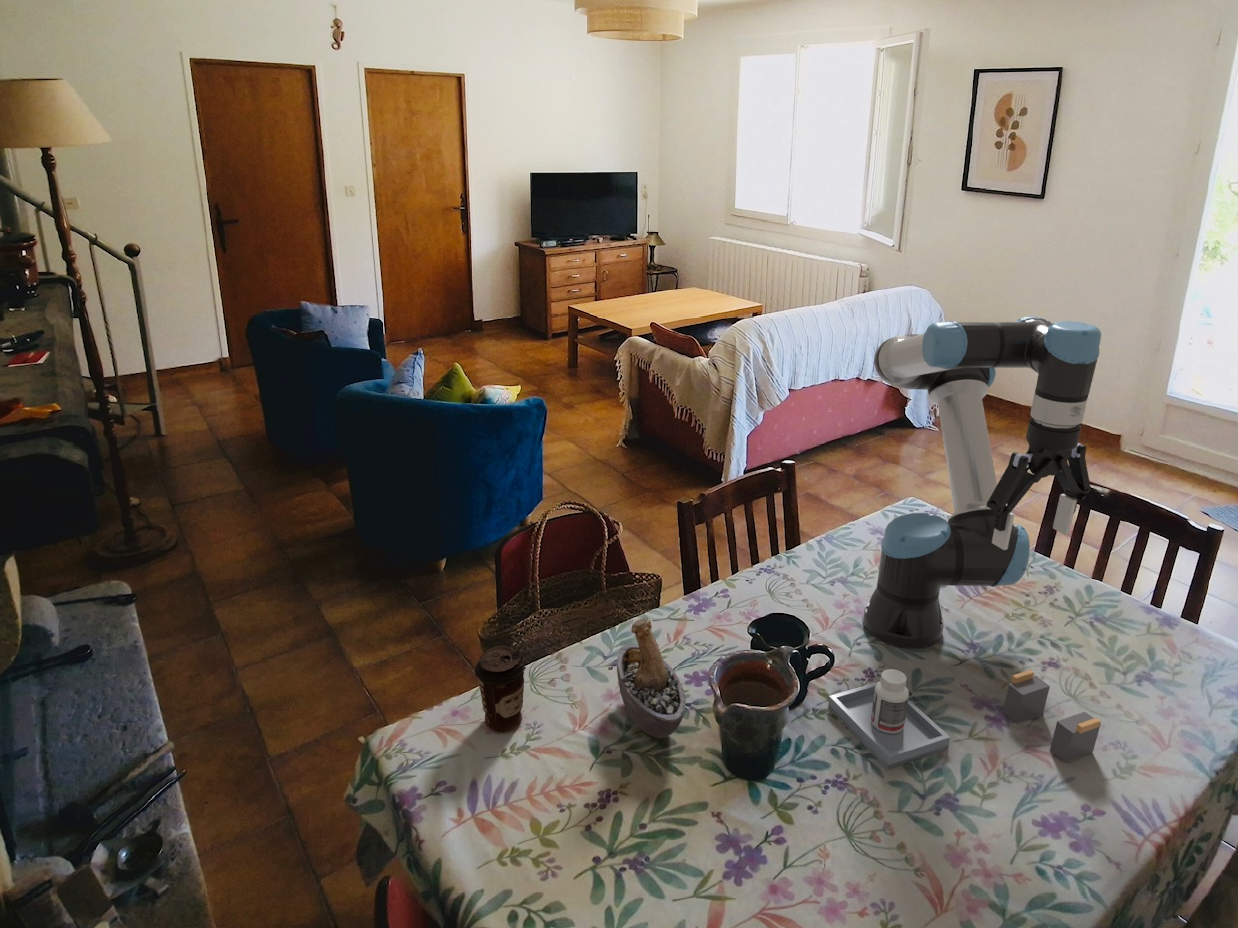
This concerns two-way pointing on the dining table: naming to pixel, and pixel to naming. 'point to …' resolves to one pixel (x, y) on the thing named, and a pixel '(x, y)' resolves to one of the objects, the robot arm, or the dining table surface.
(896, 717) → the pill bottle
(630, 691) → the planter
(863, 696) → the tray
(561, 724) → the dining table surface
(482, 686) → the drink can
